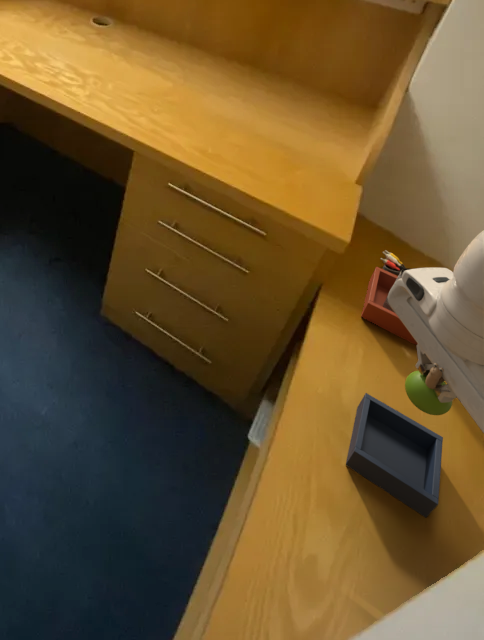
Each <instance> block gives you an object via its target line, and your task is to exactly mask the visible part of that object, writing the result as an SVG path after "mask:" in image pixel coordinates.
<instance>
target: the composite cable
mask: <svg viewBox="0 0 484 640" xmlns="http://www.w3.org/2000/svg"><path fill="white" fill-rule="evenodd" d="M382 254H383V255H384V256H385V258H382V257H380V260H381V261H382V262H383V264H384V265H383V267H382V269H383V270H385V271H388V272H390V273H392V274H394V275H397V276H398V275H399V274H400V272H401V270H402V269H405V268H406V266H405V265H404V263H403V262H402V261H400V258H399V257H398V256H397V255H395V254H394V253H392V252H389V251H388V250H386V249H385V250H384V251H382Z"/></svg>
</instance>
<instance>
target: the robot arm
mask: <svg viewBox="0 0 484 640" xmlns="http://www.w3.org/2000/svg"><path fill="white" fill-rule="evenodd" d="M388 301H389V305H390V306H391V308H392V309H393V310H394V312H395V313H396V314H397V316H398V317H399V319H400V320H401V321H402V323H403V324H404V325H405V327H406V328H407V329H408V331H409V332H410V334H411V335H412V336H413V338H414V339H415V340H416V342H417V343H418V344H417V345H416V351H417V352H416V354H417V359H418V360H417V362H416V363H415V365H414V367H415V368H416V370H417V371H419V372H420V373H421V375H422V376H423V377H426V376H427V375H428V374H429V373H430V370H431V368H433V367H434V365H433V364H434V363H437V364H438V366H439V367H438V368H440V367H441V368H443V369H444V372H442V377H443V379H444V380H445V381H444V382H445V384H444V385H436V388H435V389H433V392H434V394H435V395H436V396H437V398H438V399H439V401H440V402H441V403H444V402H451V401H452V402H453V401H454V400H455V399H457V400H458V401H459V402H460V403H461V404H462V406H463V407H464V409H465V410H466V411H467V413H468V414H469V416H470V417H471V418H472V420H473V421H474V423H476V425H477V427H478V428H479V429H480V431H481V432H482V433H483V434H484V229H483V230H482V231H480V232H479V233H478V234H477V235H476V236H475V237H474V238H473V239H472V240H471V241H470V243H469V244H468V245H467V246H466V248H465V249H464V250H463V251H462V253H461V255H460V256H459V258H458V260H457V261H456V263H455V265H454V267H453V271H452V270H451V269H450V268H447V267H435V266H434V267H433V266H432V267H417V268H410V270H405V271H404V272H403V274H402V278H400V279H398V280H397V281H396V282H395V283H394V285H393V286H392V288H391V289H390V291H389V293H388Z"/></svg>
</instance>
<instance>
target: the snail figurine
mask: <svg viewBox="0 0 484 640" xmlns="http://www.w3.org/2000/svg"><path fill="white" fill-rule="evenodd" d="M433 365H434V367H433V368H431V370H430V373H429V374H428V375H427V376H426V377H423V376H422V375H421V373H420V372H419V371H418V370H415V371H412V372H411V373H409V374H407V376H406V378H405V381H404V390H405V393H406V395H407V398H408V399H409V401H410V402H411V403H412V404H413V406H415V407H416V408H417V410H419V411H421V412H423V413H425V414H427V415H431V416H442V415H445V414H447V413H448V412H449V411H450V410H451V408H452V406H453V401H451V402H444V403H441V402H440V401H439V399H438V398H437V396H436V395H435V394H434V392H433V389H435V388H436V385H444V384H446V381H445V380H444V379H443V377H442V372H444V369H443V368H441V367H440V368H438V367H439V366H438V364H437V363H434V364H433Z"/></svg>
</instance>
